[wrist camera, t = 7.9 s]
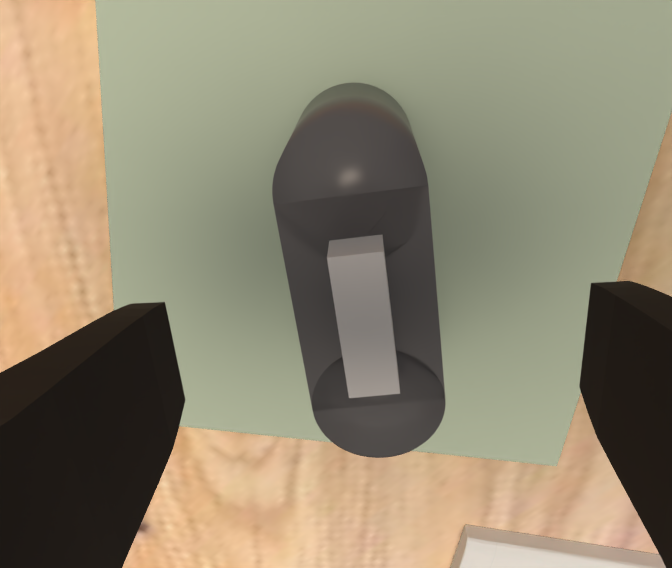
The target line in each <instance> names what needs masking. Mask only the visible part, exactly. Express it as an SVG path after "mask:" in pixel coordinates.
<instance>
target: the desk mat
mask: <svg viewBox="0 0 672 568" xmlns="http://www.w3.org/2000/svg"><path fill="white" fill-rule="evenodd" d="M95 1H96V18H97V35H98V51H99V68H100V85H101V101H102V118H103V135H104V152H105V168H106V185H107V202H108V218H109V235H110V252H111V268H112V285H113V302H114V310H116V309H118V308H121V307H123V306H126V305H128V304H132V303H154V302H165V305H166V309H167V314H168V319H169V324H170V328H171V333H172V338H173V343H174V347H175V352H176V357H177V362H178V366H179V371H180V376H181V381H182V385H183V390H184V395H185V404H184V408H183V412H182V416H181V421H180V425H179V426H183V427H192V428H202V429H211V430H221V431H230V432H239V433H249V434H258V435H268V436H277V437H286V438H296V439H305V440H315V441H324V442H331V441H330V440H329V439H328V438H327V437H326V436H325V435H324V433H323V432H322V431H321V430H320V428H319V426H318V425H317V423H316V420H315V418H314V414H313V411H312V405H311V400H310V395H309V389H308V384H307V379H306V374H305V368H304V363H303V358H302V353H301V347H300V342H299V337H298V331H297V326H296V321H295V316H294V310H293V305H292V300H291V294H290V289H289V284H288V279H287V273H286V268H285V263H284V258H283V252H282V247H281V242H280V236H279V231H278V226H277V221H276V215H275V210H274V205H273V197H272V184H273V177H274V173H275V169H276V166H277V163H278V161H279V159H280V157H281V155H282V153H283V151H284V149H285V147H286V145H287V143H288V141H289V139H290V137H291V135H292V133H293V131H294V129H295V127H296V125H297V123H298V121H299V119H300V117H301V115H302V113H303V111H304V110H305V108H306V107H307V105H308V104H309V103H310V102H311V101H312V100H313V99H314V98H315V97H316V96H317V95H318V94H320V93H321V92H323V91H324V90H326V89H328V88H330V87H333V86H336V85H339V84H344V83H364V84H369V85H372V86H375V87H377V88H379V89H381V90H383V91H385V92H386V93H388V94H389V95H391V96H392V97H393V98H394V99H395V100H396V101H397V102H398V103H399V105H400V106H401V107H402V109H403V110H404V112H405V113H406V116H407V118H408V120H409V123H410V126H411V129H412V132H413V135H414V138H415V140H416V143H417V146H418V149H419V152H420V155H421V158H422V161H423V164H424V167H425V171H426V174H427V179H428V187H429V199H430V212H431V224H432V237H433V250H434V262H435V275H436V287H437V300H438V312H439V325H440V337H441V350H442V362H443V375H444V388H445V412H444V416H443V419H442V421H441V423H440V425H439V427H438V429H437V430H436V432H435V433H434V434H433V435H432V436H431V437H430V438H429V439H428V440H427V441H426V442H425V443H423V444H422V445H420V446H419V447H417V448H416V449H413V450H411V451H418V452H428V453H437V454H447V455H456V456H465V457H475V458H484V459H494V460H503V461H512V462H522V463H531V464H541V465H550V466H557V464H558V461H559V458H560V455H561V452H562V449H563V446H564V442H565V439H566V436H567V433H568V430H569V427H570V424H571V421H572V418H573V415H574V412H575V408H576V405H577V402H578V399H579V396H580V393H581V390H580V387H579V384H580V376H581V367H582V358H583V349H584V340H585V331H586V322H587V313H588V305H589V296H590V287H591V283H598V282H617V279H618V276H619V273H620V269H621V266H622V263H623V260H624V257H625V254H626V251H627V248H628V245H629V242H630V239H631V236H632V232H633V229H634V226H635V223H636V220H637V217H638V214H639V211H640V208H641V205H642V202H643V198H644V195H645V192H646V189H647V186H648V183H649V180H650V177H651V174H652V171H653V168H654V164H655V161H656V158H657V155H658V152H659V149H660V146H661V143H662V140H663V137H664V134H665V130H666V127H667V124H668V121H669V118H670V115H671V112H672V0H95Z"/></svg>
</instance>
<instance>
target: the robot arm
mask: <svg viewBox="0 0 672 568" xmlns="http://www.w3.org/2000/svg"><path fill="white" fill-rule="evenodd" d="M579 387H580V390H581V393H582V396H583V399H584V402H585V405H586V408H587V411H588V414H589V417H590V419H591V422H592V425H593V427H594V430H595V433H596V435H597V438H598V440H599V441H600V443H601V445H602V447H603V449H604V451H605V453H606V455H607V457H608V459H609V461H610V463H611V465H612V466H613V468H614V470H615V472H616V474H617V476H618V478H619V480H620V481H621V483H622V485H623V487H624V489H625V491H626V493H627V494H628V496H629V498H630V500H631V502H632V504H633V506H634V507H635V509H636V511H637V513H638V515H639V517H640V519H641V520H642V522H643V524H644V526H645V528H646V530H647V532H648V533H649V535H650V537H651V539H652V541H653V543H654V545H655V546H656V548H657V550H658V552H659V554H660V556H661V558H662V560H663V562H664V564H665V566H666V568H672V297H671V296H669V295H666V294H664V293H661V292H659V291H657V290H654V289H652V288H649V287H647V286H644V285H641V284H638V283H634V282H631V281H620V282H598V283H591V287H590V296H589V305H588V313H587V322H586V331H585V340H584V349H583V358H582V367H581V376H580V384H579ZM184 404H185V395H184V390H183V385H182V381H181V376H180V371H179V366H178V362H177V357H176V352H175V347H174V343H173V338H172V333H171V328H170V324H169V319H168V314H167V309H166V305H165V302H154V303H132V304H128V305H126V306H123V307H121V308H118V309H116V310H114V311H112V312H110V313H108V314H106V315H105V316H103V317H101V318H99V319H97V320H95V321H94V322H92V323H90V324H88V325H86V326H85V327H83V328H81V329H79V330H78V331H76V332H74V333H72V334H71V335H69V336H67V337H65V338H64V339H62V340H60V341H58V342H57V343H55V344H53V345H51V346H49V347H48V348H46V349H44V350H42V351H41V352H39V353H37V354H35V355H33V356H31V357H30V358H28V359H26V360H24V361H22V362H20V363H18V364H16V365H14V366H13V367H11V368H9V369H7V370H5V371H3V372H1V373H0V568H122V567H123V564H124V561H125V559H126V557H127V555H128V552H129V550H130V548H131V545H132V543H133V541H134V538H135V536H136V534H137V531H138V529H139V527H140V525H141V522H142V520H143V518H144V515H145V513H146V511H147V508H148V506H149V504H150V502H151V499H152V497H153V495H154V492H155V490H156V488H157V485H158V483H159V481H160V478H161V476H162V473H163V471H164V469H165V466H166V464H167V462H168V459H169V457H170V454H171V452H172V449H173V446H174V443H175V439H176V436H177V432H178V428H179V425H180V421H181V416H182V412H183V408H184Z"/></svg>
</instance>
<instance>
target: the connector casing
mask: <svg viewBox="0 0 672 568" xmlns="http://www.w3.org/2000/svg"><path fill="white" fill-rule="evenodd" d="M272 197H273V205H274V210H275V215H276V221H277V226H278V231H279V236H280V242H281V247H282V252H283V258H284V263H285V268H286V273H287V279H288V284H289V289H290V294H291V300H292V305H293V310H294V316H295V321H296V326H297V331H298V337H299V342H300V347H301V353H302V358H303V363H304V368H305V374H306V379H307V384H308V389H309V395H310V400H311V405H312V411H313V414H314V418H315V420H316V423H317V425H318V426H319V428H320V430H321V431H322V432H323V433H324V435H325V436H326V437H327V438H328V439H329V440H330V441H331V442H333V443H334V444H336V445H337V446H338V447H340V448H342V449H344V450H346V451H348V452H351V453H353V454H357V455H360V456H366V457H376V458H381V457H392V456H397V455H401V454H404V453H407V452H409V451H411V450H413V449H416V448H417V447H419V446H420V445H422V444H423V443H425V442H426V441H427V440H428V439H429V438H430V437H431V436H432V435H433V434H434V433H435V432H436V430H437V429H438V427H439V425H440V423H441V421H442V419H443V416H444V412H445V388H444V375H443V362H442V350H441V337H440V325H439V312H438V300H437V287H436V275H435V262H434V250H433V237H432V224H431V212H430V199H429V187H428V179H427V174H426V171H425V167H424V164H423V161H422V158H421V155H420V152H419V149H418V146H417V143H416V140H415V138H414V135H413V132H412V129H411V126H410V123H409V120H408V118H407V116H406V113H405V112H404V110H403V109H402V107H401V106H400V105H399V103H398V102H397V101H396V100H395V99H394V98H393V97H392V96H391V95H389V94H388V93H386V92H385V91H383V90H381V89H379V88H377V87H375V86H372V85H369V84H364V83H344V84H339V85H336V86H333V87H330V88H328V89H326V90H324V91H323V92H321V93H320V94H318V95H317V96H316V97H315V98H314V99H313V100H312V101H311V102H310V103H309V104H308V105H307V107H306V108H305V110H304V111H303V113H302V115H301V117H300V119H299V121H298V123H297V125H296V127H295V129H294V131H293V133H292V135H291V137H290V139H289V141H288V143H287V145H286V147H285V149H284V151H283V153H282V155H281V157H280V159H279V161H278V163H277V166H276V169H275V173H274V177H273V184H272Z"/></svg>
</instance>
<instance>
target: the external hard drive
mask: <svg viewBox="0 0 672 568" xmlns="http://www.w3.org/2000/svg"><path fill="white" fill-rule="evenodd" d="M450 568H666V566H665V564H664V562H663V560H662V558H661V556H660V554H654V553H647V552H641V551H634V550H628V549H621V548H615V547H609V546H602V545H596V544H589V543H583V542H576V541H570V540H564V539H557V538H551V537H544V536H538V535H531V534H525V533H519V532H512V531H505V530H499V529H492V528H486V527H480V526H473V525H467V524H466V525H465V526H464V529H463V532H462V535H461V538H460V541H459V544H458V546H457V549H456V552H455V555H454V558H453V561H452V564H451V567H450Z"/></svg>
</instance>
